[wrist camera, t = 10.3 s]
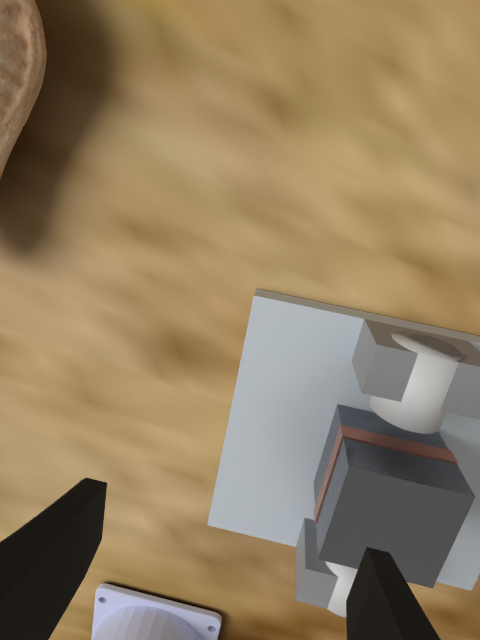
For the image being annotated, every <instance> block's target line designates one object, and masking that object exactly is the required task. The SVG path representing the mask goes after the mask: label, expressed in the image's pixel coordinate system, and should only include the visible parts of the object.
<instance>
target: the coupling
mask: <svg viewBox="0 0 480 640" xmlns="http://www.w3.org/2000/svg"><path fill="white" fill-rule="evenodd" d="M314 498H315V508H314V523H315V524H316V533H317V550H318V559H319V560H323V561H327V562H331V563H335V564H338V565H342V566H346V567H350V568H354V569H358V568H359V566H360V563H361V560H362V558H363V555H364V552H365V550H366V547H369V548H373V549H377V550H381V551H385V552H389V553H390V554H391V556H392V557H393V559H394V561H395V563H396V564H397V566H398V568H399V570H400V571H401V573H402V575H403V577H404V579H405V580H406V582H410V583H414V584H418V585H422V586H426V587H430V588H433V586H434V584H435V582H436V580H437V578H438V576H439V574H440V571H441V569H442V567H443V565H444V563H445V561H446V559H447V557H448V554H449V552H450V550H451V548H452V546H453V544H454V542H455V539H456V537H457V535H458V533H459V531H460V529H461V527H462V525H463V522H464V520H465V518H466V516H467V514H468V512H469V510H470V507H471V505H472V503H473V501H474V499H475V495H474V493H473V492H472V490H471V488H470V486H469V485H468V483H467V481H466V479H465V478H464V476H463V474H462V472H461V470H460V469H459V467H458V461H457V460H456V458H455V456H454V454H453V453H452V451H451V450H449V449H448V448H447V446H446V444H445V442H444V441H443V439H442V437H441V435H440V433H439V432H438V431H437V432H435V433H430V434H422V433H416V432H411V431H407V430H404V429H402V428H399V427H397V426H394V425H392V424H390V423H389V422H387V421H385V420H384V419H382V418H381V417H380V416H378V415H377V414H376V413H375V412H370V411H366V410H362V409H357V408H353V407H348V406H344V405H340V404H337V406H336V410H335V413H334V416H333V419H332V423H331V426H330V429H329V433H328V436H327V439H326V443H325V446H324V449H323V453H322V456H321V459H320V463H319V466H318V469H317V472H316V476H315V479H314Z"/></svg>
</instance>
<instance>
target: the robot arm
mask: <svg viewBox="0 0 480 640" xmlns="http://www.w3.org/2000/svg"><path fill="white" fill-rule="evenodd" d="M106 489H107V483H105V482H101V481H97V480H93V479H89V478H85V479H83V480H81V481H80V482H79V483H78V484H77V485H75V486H74V487H73V488H72V489H70V490H69V491H68V492H67V493H65V494H64V495H63V496H62V497H60V498H59V499H58V500H57V501H55V502H54V503H53V504H51V505H50V506H49V507H48V508H46V509H45V510H44V511H42V512H41V513H40V514H38V515H37V516H36V517H34V518H33V519H32V520H30V521H29V522H28V523H26V524H25V525H24V526H22V527H21V528H20V529H18V530H17V531H16V532H14V533H13V534H11V535H10V536H8V537H7V538H6V539H4V540H3V541H1V542H0V640H48V639H49V638H50V636H51V634H52V632H53V631H54V629H55V627H56V626H57V624H58V622H59V620H60V619H61V617H62V615H63V614H64V612H65V610H66V608H67V607H68V605H69V603H70V602H71V600H72V598H73V596H74V595H75V593H76V591H77V589H78V588H79V586H80V584H81V582H82V581H83V579H84V577H85V575H86V573H87V571H88V568H89V566H90V564H91V562H92V560H93V558H94V555H95V553H96V551H97V549H98V546H99V544H100V542H101V540H102V531H103V520H104V510H105V499H106ZM346 620H347V640H440V638H439V636H438V635H437V633H436V631H435V630H434V628H433V627H432V625H431V623H430V622H429V620H428V618H427V617H426V615H425V613H424V612H423V610H422V608H421V606H420V605H419V603H418V601H417V600H416V598H415V596H414V594H413V593H412V591H411V589H410V587H409V586H408V584H407V582H406V580H405V579H404V577H403V575H402V573H401V571H400V570H399V568H398V566H397V564H396V563H395V561H394V559H393V557H392V556H391V554H390V553H389V552H385V551H381V550H377V549H373V548H369V547H366V550H365V552H364V555H363V558H362V560H361V563H360V566H359V568H358V571H357V573H356V576H355V579H354V581H353V584H352V587H351V589H350V592H349V595H348V597H347V600H346ZM221 622H222V617H221V616H220V615H219V614H218V613H216V612H213V611H209V610H205V609H202V608H198V607H194V606H190V605H186V604H183V603H179V602H175V601H171V600H167V599H163V598H160V597H156V596H152V595H148V594H144V593H140V592H137V591H133V590H129V589H125V588H121V587H118V586H114V585H110V584H106V583H103V584H100V585H99V586H98V588H97V590H96V596H95V606H94V617H93V627H92V638H91V640H217V639H218V635H219V631H220V627H221Z"/></svg>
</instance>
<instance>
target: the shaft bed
mask: <svg viewBox="0 0 480 640" xmlns="http://www.w3.org/2000/svg"><path fill="white" fill-rule="evenodd" d="M337 404H340V405H344V406H348V407H353V408H357V409H362V410H366V411H370V412H375V413H376V414H377V415H378V416H380V417H381V418H382V419H384V420H385V421H387V422H389V423H390V424H392V425H394V426H397V427H399V428H402V429H404V430H407V431H411V432H416V433H422V434H430V433H435V432H437V431H438V432H439V433H440V435H441V437H442V439H443V441H444V442H445V444H446V446H447V448H448V449H449V450H451V451H452V453H453V454H454V456H455V458H456V460H457V461H458V467H459V469H460V470H461V472H462V474H463V476H464V478H465V479H466V481H467V483H468V485H469V486H470V488H471V490H472V492H473V493H474V495H475V499H474V501H473V503H472V505H471V507H470V510H469V512H468V514H467V516H466V518H465V520H464V522H463V525H462V527H461V529H460V531H459V533H458V535H457V537H456V539H455V542H454V544H453V546H452V548H451V550H450V552H449V554H448V557H447V559H446V561H445V563H444V565H443V567H442V569H441V571H440V574H439V576H438V578H437V580H436V582H438V583H442V584H446V585H450V586H454V587H458V588H463V589H467V590H472V588H473V586H474V584H475V582H476V580H477V578H478V576H479V574H480V336H477V335H472V334H468V333H463V332H458V331H454V330H449V329H444V328H439V327H435V326H430V325H425V324H421V323H416V322H411V321H406V320H402V319H397V318H392V317H388V316H383V315H378V314H374V313H369V312H364V311H359V310H355V309H350V308H345V307H341V306H336V305H331V304H326V303H322V302H317V301H312V300H308V299H303V298H298V297H293V296H289V295H284V294H279V293H275V292H270V291H265V290H261V289H256V291H255V294H254V298H253V303H252V308H251V312H250V317H249V322H248V327H247V332H246V337H245V342H244V347H243V352H242V357H241V362H240V367H239V372H238V377H237V381H236V386H235V391H234V396H233V401H232V406H231V411H230V416H229V421H228V426H227V431H226V436H225V441H224V446H223V450H222V455H221V460H220V465H219V470H218V475H217V480H216V485H215V490H214V495H213V500H212V505H211V510H210V514H209V519H208V524H207V525H210V526H214V527H218V528H222V529H226V530H230V531H234V532H238V533H242V534H246V535H250V536H254V537H258V538H262V539H266V540H270V541H274V542H278V543H282V544H286V545H290V546H294V547H296V571H295V600H296V601H300V602H304V603H308V604H311V605H315V606H319V607H323V608H327V609H328V610H330V611H331V612H333V613H335V614H337V615H339V616H342V617H346V600H347V597H348V595H349V592H350V589H351V587H352V584H353V581H354V579H355V576H356V573H357V571H358V569H354V568H350V567H346V566H342V565H338V564H335V563H331V562H327V561H323V560H319V559H318V550H317V533H316V524H315V523H314V508H315V498H314V479H315V476H316V472H317V469H318V466H319V463H320V459H321V456H322V453H323V449H324V446H325V443H326V439H327V436H328V433H329V429H330V426H331V423H332V419H333V416H334V413H335V410H336V406H337Z"/></svg>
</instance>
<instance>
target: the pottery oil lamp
mask: <svg viewBox="0 0 480 640" xmlns="http://www.w3.org/2000/svg"><path fill="white" fill-rule="evenodd" d="M46 61H47V51H46V43H45V36H44V30H43V24H42V19H41V16H40V13H39V10H38V7H37V4H36V2H35V0H0V181H1V177H2V173H3V170H4V167H5V165H6V162H7V160H8V158H9V155H10V153H11V151H12V149H13V146H14V144H15V143H16V141H17V139H18V137H19V135H20V132H21V131H22V129H23V127H24V125H25V123H26V122H27V119H28V117H29V115H30V113H31V110H32V108H33V106H34V104H35V102H36V99H37V97H38V95H39V93H40V90H41V87H42V83H43V78H44V74H45V67H46Z"/></svg>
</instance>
